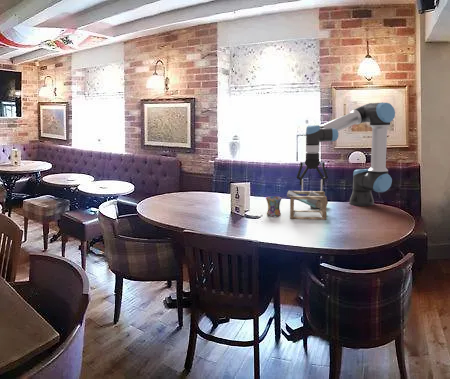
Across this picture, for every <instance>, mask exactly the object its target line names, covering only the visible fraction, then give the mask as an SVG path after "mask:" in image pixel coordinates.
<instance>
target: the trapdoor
mask: <svg viewBox="0 0 450 379" xmlns="http://www.w3.org/2000/svg"><path fill="white" fill-rule="evenodd" d="M292 191H293V190H288V191H287V192H286V198H289V199H290V196H301V194H296V193H294V192H292ZM296 201H299V202H301V203H303V204H306V205H308V206H309V207H310V206H312V207H311V208H313V207H314V208H315V207H316V205H314V204H312V203H309V202H307V200H306V199H296ZM315 209H316V208H315Z"/></svg>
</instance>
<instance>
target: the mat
mask: <svg viewBox="0 0 450 379" xmlns="http://www.w3.org/2000/svg"><path fill="white" fill-rule="evenodd" d="M294 216H296V217H322V216H321V213H320V212H295V213H294Z"/></svg>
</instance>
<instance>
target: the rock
mask: <svg viewBox="0 0 450 379" xmlns="http://www.w3.org/2000/svg"><path fill="white" fill-rule="evenodd" d="M308 195H309V194H306V196H308ZM319 196H321V194H319ZM328 203H329V202H328V200H327V205H329V204H328ZM315 205H316V207H315V209H321V200H317V202H316V204H315ZM309 207H310V208H314V207H312V206H310V205H309Z"/></svg>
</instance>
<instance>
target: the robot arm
mask: <svg viewBox="0 0 450 379" xmlns="http://www.w3.org/2000/svg"><path fill="white" fill-rule="evenodd" d="M395 116H396V110H395V108H394V106H393V105H392V104H391V103H389V102H371V103H370V102H369V103H367V104H363V105H361V106H359V107H357V108H354V109H352V110H351V111H350V112H349V113H347V114H344V115H342V116H339V117H337V118H335V119H332V120H330V121H328V122H325V123H323V124H320V125H318V124H317V125H311V124H310V125H307V126H306V130H305V152H306V153H305V161H300V163H299V165H300V166H299V169H298V172H297V174H296V175H297V176H296V179H297V180H299V186H301V191H304V177H305V175H306V173H307V172H308V171H309V170H312V169H313V170H316V171H317V173H318V175H319V176H320V178H321V179H320V191H323V186H325V180H328V179H329V178H328V177H329V176H328V173H327V170H326V167H325V164H326V163H325V162H324V161H320V153H319V152H320V143H324V142H326V143H327V142H329V143H331V142H336V141H337V140H338V138H339V131H342V130H344V129H347V128H349V127H351V126H353V125H360V124H363V123H369V127H371V132H372V133H371V150H370V151H371V155H370V167H369V168H364V169H363V168H362V169H361V168H359V169H355V170H354V171H353V174H352V193H351V196H350V198H349V205H353V206H356V207H358V206H359V207H370V206H373V205H375V200H374V196H373V194H372V191H373V192H376V193H385V192H387V191H388V190H389V189H390V188H391V187H392V182H393V179H392V177H391V175H390V174H389V169H388V168H387V145H388V144H387V143H388V128H389V127H391V123H392V121H393V120H394V119H395ZM304 165H305V166H306V167H305V169H304V170H303V172H302V169H303V166H304ZM319 166H321V167H322V171H323V173H324V175H323V174H322V172H321V170H320V168H319ZM301 172H302V173H301Z"/></svg>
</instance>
